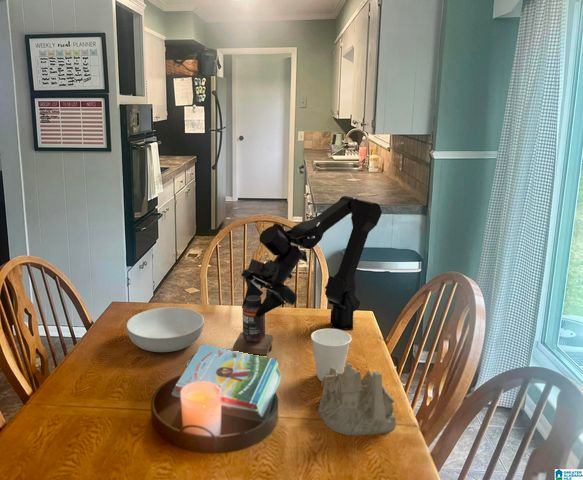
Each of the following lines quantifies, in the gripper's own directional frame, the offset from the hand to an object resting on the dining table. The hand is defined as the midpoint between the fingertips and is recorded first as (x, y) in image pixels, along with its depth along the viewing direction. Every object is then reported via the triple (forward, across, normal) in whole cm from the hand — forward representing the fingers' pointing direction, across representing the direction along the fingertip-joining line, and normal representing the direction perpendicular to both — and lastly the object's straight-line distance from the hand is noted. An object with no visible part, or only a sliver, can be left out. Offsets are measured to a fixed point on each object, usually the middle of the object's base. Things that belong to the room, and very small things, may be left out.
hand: (249, 312), depth 136 cm
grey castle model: (+7, +36, +11) cm, 39 cm away
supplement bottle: (+4, 0, +6) cm, 8 cm away
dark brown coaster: (+8, 0, +10) cm, 12 cm away
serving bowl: (+19, -19, -2) cm, 27 cm away
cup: (+2, +21, +15) cm, 26 cm away
